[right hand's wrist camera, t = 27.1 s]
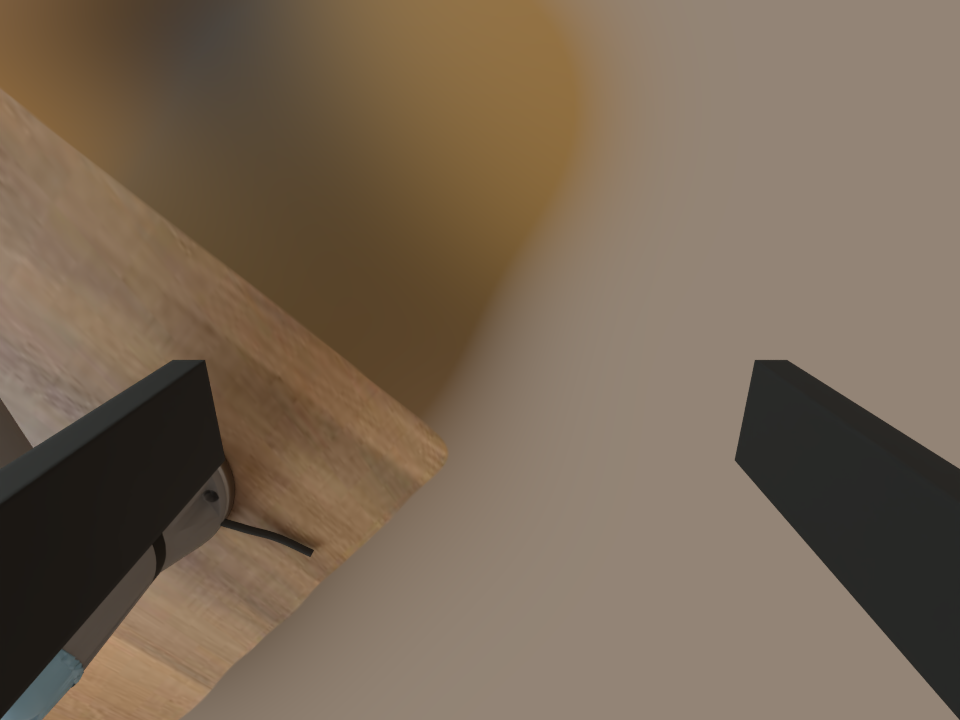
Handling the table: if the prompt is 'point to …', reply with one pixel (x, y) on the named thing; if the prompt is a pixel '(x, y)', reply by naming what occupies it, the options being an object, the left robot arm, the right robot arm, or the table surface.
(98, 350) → the table surface
